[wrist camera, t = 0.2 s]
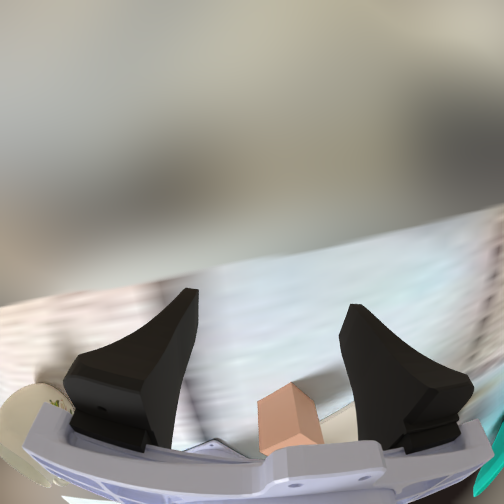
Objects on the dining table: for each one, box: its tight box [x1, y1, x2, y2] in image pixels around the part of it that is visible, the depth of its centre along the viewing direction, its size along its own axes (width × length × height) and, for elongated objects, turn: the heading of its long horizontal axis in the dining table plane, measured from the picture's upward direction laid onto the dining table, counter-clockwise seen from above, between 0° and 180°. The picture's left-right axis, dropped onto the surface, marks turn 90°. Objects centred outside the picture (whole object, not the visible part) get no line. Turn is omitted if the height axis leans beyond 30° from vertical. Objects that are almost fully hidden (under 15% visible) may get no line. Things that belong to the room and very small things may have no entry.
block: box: [257, 382, 325, 456], centre depth 25 cm, size 4×4×7 cm
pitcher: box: [0, 383, 74, 488], centre depth 23 cm, size 11×18×14 cm, turn 11°
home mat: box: [319, 401, 358, 444], centre depth 31 cm, size 14×18×1 cm
